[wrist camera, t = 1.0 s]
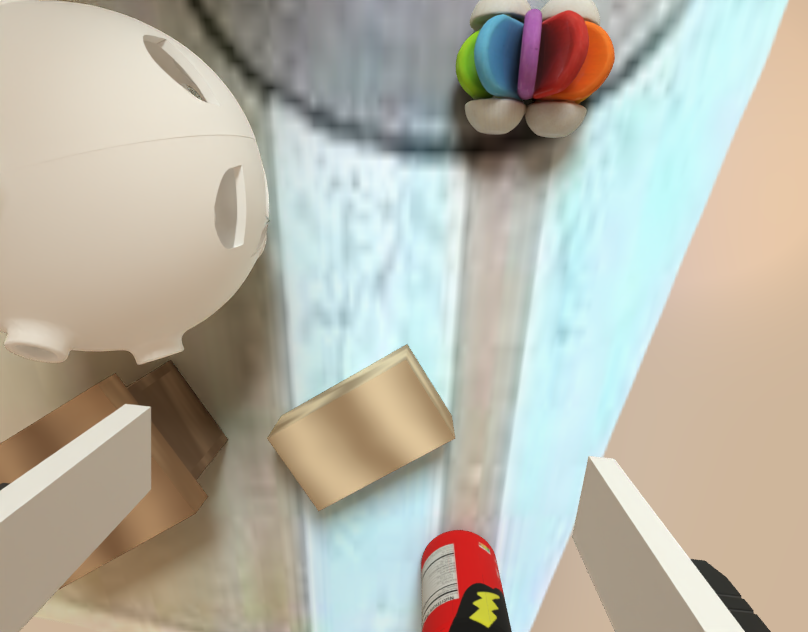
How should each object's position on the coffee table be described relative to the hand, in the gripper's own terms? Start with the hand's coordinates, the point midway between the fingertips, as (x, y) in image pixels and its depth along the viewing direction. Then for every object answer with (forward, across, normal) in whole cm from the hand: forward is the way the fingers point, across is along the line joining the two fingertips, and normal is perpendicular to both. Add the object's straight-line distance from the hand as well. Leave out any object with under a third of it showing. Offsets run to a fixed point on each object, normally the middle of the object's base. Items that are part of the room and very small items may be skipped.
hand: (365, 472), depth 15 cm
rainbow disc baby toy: (+25, +7, +17) cm, 31 cm away
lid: (+18, -20, -13) cm, 30 cm away
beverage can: (+25, +7, -21) cm, 34 cm away
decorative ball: (+25, -16, +7) cm, 31 cm away
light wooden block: (+25, -2, -9) cm, 27 cm away
